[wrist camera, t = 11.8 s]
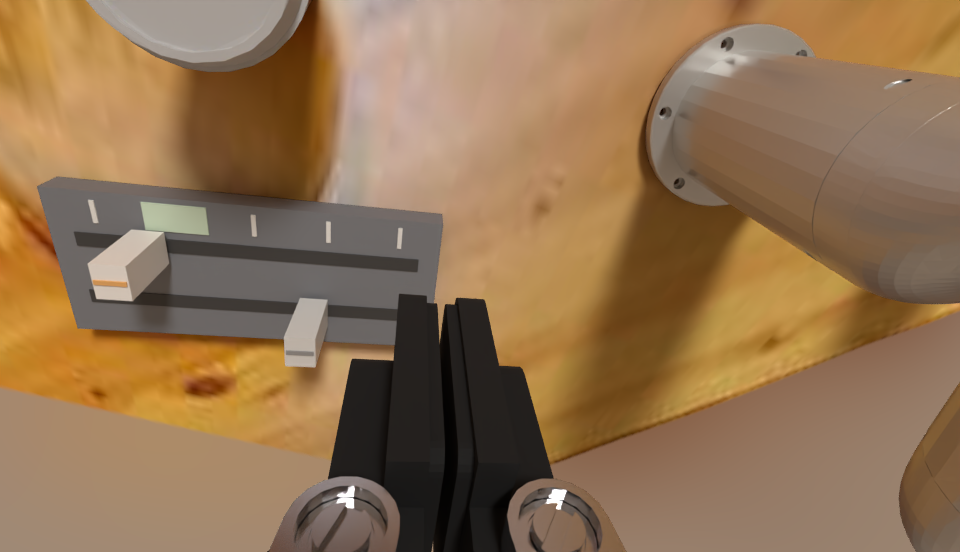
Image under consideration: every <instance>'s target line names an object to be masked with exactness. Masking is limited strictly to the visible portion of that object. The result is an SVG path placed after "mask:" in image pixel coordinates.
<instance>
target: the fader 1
mask: <svg viewBox="0 0 960 552" xmlns="http://www.w3.org/2000/svg"><path fill="white" fill-rule="evenodd" d="M168 264H169V259H168V253H167V247H166V241H165V235H164V232H156V231H144V230H132V229H131V230H130V231H129V232H128V233H126V234H125V235H124V236H122V237H121V238H120V239H119V240H117V241H116V242H115V243H113V244H112V245H111V246H110V247H108V248H107V249H106V250H104V251H103V252H102V253H101V254H99V255H98V256H97V257H96V258H94V259H93V260H92V261H90V262H89V263H88V268H89V272H90V276H91V280H92V284H93V287H94V291H95V295H96V299H105V300H121V301H134V299H135V298H136V297H137V296H138V295H139V294H140V293H141V292H142V291H143V290H144V289H145V288H146V287H147V286H148V285H149V284H150V283H151V282H152V281H153V280H154V279H155V278H156V277H157V276H158V275H159V274H160V273H161V272H162V271H163V270H164V269H165V268H166V266H167V265H168Z"/></svg>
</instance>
